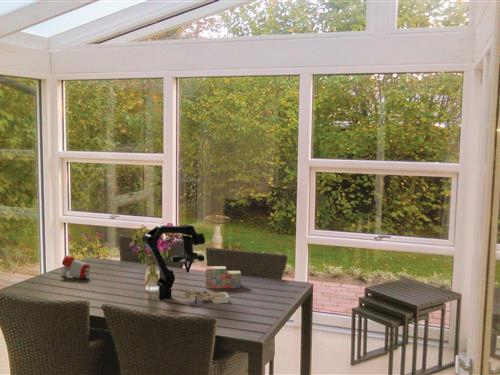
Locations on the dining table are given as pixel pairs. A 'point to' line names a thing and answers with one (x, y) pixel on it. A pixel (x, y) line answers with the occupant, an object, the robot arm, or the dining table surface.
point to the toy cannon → (75, 268)
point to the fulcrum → (198, 301)
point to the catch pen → (220, 297)
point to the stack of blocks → (222, 277)
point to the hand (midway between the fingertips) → (187, 272)
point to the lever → (194, 295)
